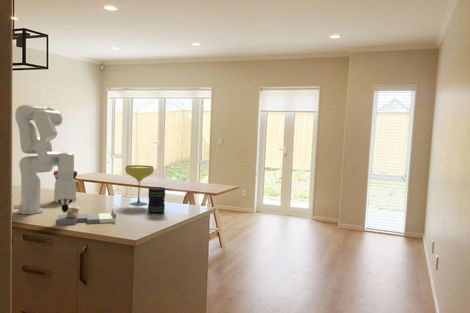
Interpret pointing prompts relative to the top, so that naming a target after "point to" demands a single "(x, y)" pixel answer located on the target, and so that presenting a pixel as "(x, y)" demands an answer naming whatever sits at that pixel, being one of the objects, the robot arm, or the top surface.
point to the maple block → (72, 211)
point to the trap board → (87, 218)
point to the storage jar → (156, 200)
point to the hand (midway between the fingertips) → (64, 212)
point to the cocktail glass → (139, 177)
